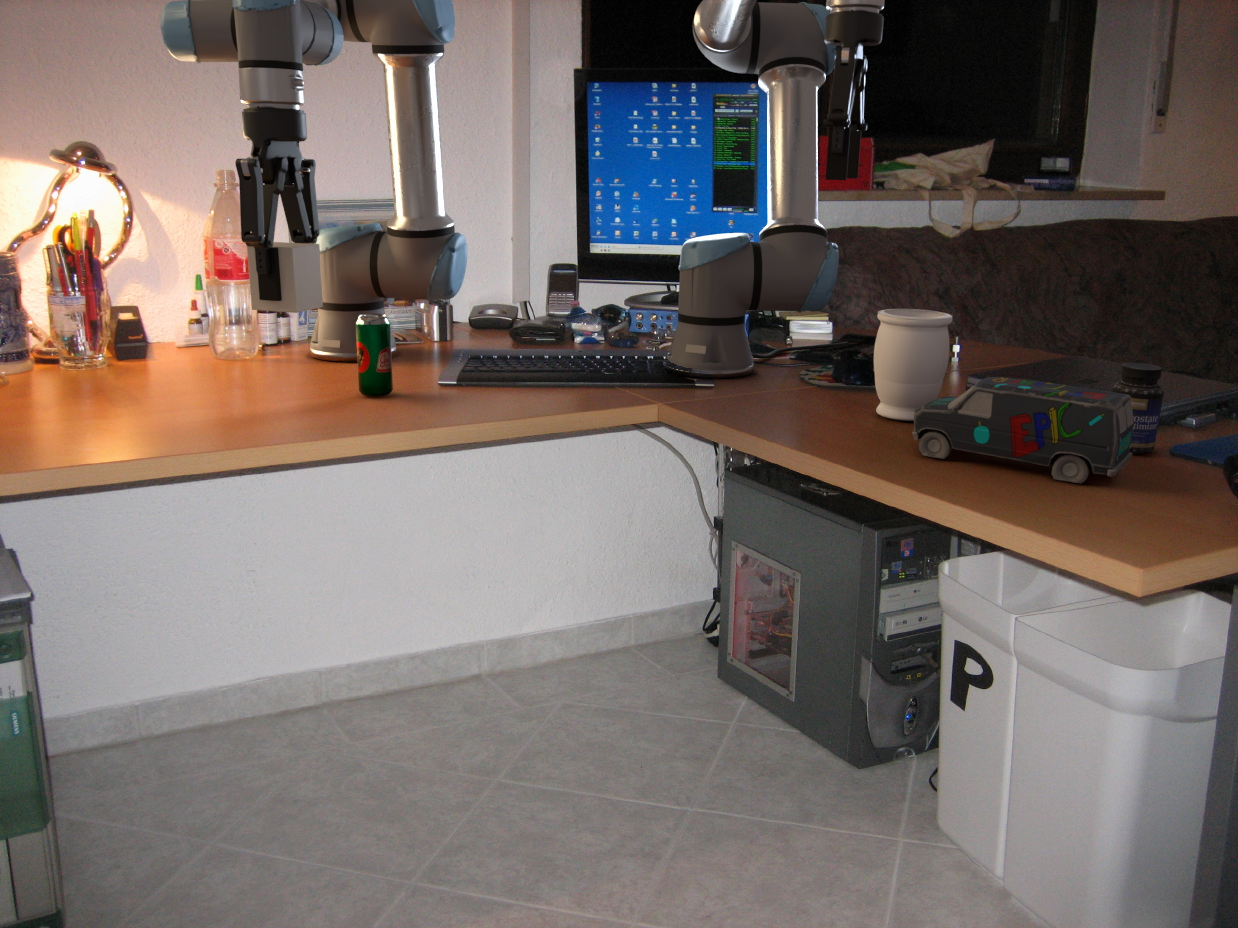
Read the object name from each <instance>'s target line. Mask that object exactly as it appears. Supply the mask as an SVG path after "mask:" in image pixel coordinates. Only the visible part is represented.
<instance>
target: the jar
mask: <svg viewBox="0 0 1238 928" xmlns="http://www.w3.org/2000/svg"><path fill="white" fill-rule="evenodd" d="M877 319H878V321H880V325H879V327H878V329H877V334H876V337H875V342H874V347H873V372H874V384H875V385H874V386H875V391H876V395H877V398H878V399H879V401H880V402H879V404H877V405H878V406H877V407H876V409H875V412H876V413H877V415H879V416H881V417H884V418H887V419H889V420H890V419H891V420H896V421H903V422H914V414H915V410H916V409H918V408H919V407H921V406H923V405H924V404H926V403H929V402H931V401H934V400H936V399H939V396H940V393H941V391H942V388H943V384H944V378H945V377H946V376H945V375H946V373H947V369H948V364H949V360H950V359H949V357H950V334H949V327H948V326H949V325H951V324H952V323H953V315H952V314H950V313H947V312H943V311H936V310H929V309H918V308H888V309H880V310H878V311H877Z"/></svg>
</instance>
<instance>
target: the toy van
mask: <svg viewBox="0 0 1238 928" xmlns="http://www.w3.org/2000/svg"><path fill="white" fill-rule="evenodd" d="M1134 427H1135V426H1134V418H1133V410H1132V401H1131V396H1129V395H1127V394H1121V393H1115V392H1112V391H1108V390H1103V389H1102V390H1100V389H1094V388H1089V387H1081V386H1076V385H1068V384H1061V383H1054V382H1047V381H1042V380H1041V381H1040V380H1032V379H1026V378H1025V379H1024V378H1016V377H1015V378H1014V377H1003V376H989V377H985V378H982V379H981V380H979V381H977V382H976V383H975V384H974V385H972V386H971V387H970V388H969V389H967V390H966V391H964V392H963V393H962V394H960V395H959V396H950V395H946V396H942V397H939V398H937V399H936V400H934V401H931V402H929V403H926V404H924V405H923V406H921V407H919V408H918V409H916V410H915V414H914V421H913V431H912V432H911V435H912V438H913V440H914V441H918V449H919V450H918V451H919V452H920V453H921V455H922V456H925V457H931V458H937V459H942V460H945V459H947V458H948V457H949V456H950V455H951V452H952V449H953V450H958V451H963V452H969V453H974V454H979V455H984V456H990V457H991V456H992V457H997V458H1002V459H1008V460H1013V461H1017V462H1018V461H1019V462H1024V463H1028V464H1034V465H1039V466H1043V467H1044V466H1045V467H1051V466H1052V467H1051V476H1052V479H1053V480H1058V481H1062V482H1068V483H1074V484H1083V483H1084V482H1086V481H1087V480H1088V479H1089V475H1090V473H1091V472H1092V474H1095V475H1105V476H1107V477H1115V475H1116V474H1118V473H1119V472H1120V471H1121V470H1122V469H1123V468H1125V466H1126V464H1127V463H1129V462H1130V460H1131V458H1132V456H1133V455H1134V453H1131V452H1129V451H1130V448H1131V441H1132V436H1133V430H1134ZM1090 471H1091V472H1090Z"/></svg>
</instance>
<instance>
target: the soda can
mask: <svg viewBox="0 0 1238 928" xmlns="http://www.w3.org/2000/svg"><path fill="white" fill-rule="evenodd" d="M385 314H386V313H385ZM385 314H362V315H358V320H357V322H356V341H357V361H356V362H357V377H358V379H357V380H358V391H359V393H360V394H361V395H363V396H365V397H372V398H376V397H377V398H378V397H385V396H388V395H390V394H392V392H393V391H394V383H393V382H394V381H393V362H392V361H393V359H392V357H393V356H391V332H390V328H391V322H390V320H389V318H388V315H387V314H386V315H385Z"/></svg>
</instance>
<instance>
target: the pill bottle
mask: <svg viewBox="0 0 1238 928" xmlns="http://www.w3.org/2000/svg"><path fill="white" fill-rule="evenodd" d="M1162 371H1163V367H1161V366H1158V365H1155V364H1149V363H1142V362H1141V363H1140V362H1126V363H1122V365H1121V369H1120V375H1121V380H1119V381H1116V382H1115V383H1114V384H1113V385H1112V388H1111V392H1115V393H1121V394H1127V395H1129V396H1131V401H1132V410H1133V418H1134V426H1135V427H1134V430H1133V436H1132V441H1131V448H1130V451H1129V452H1131V453H1133V454H1140V455H1141V454H1148V453H1151V452H1153V451H1154V450H1155V448H1156V440H1157V435H1158V428H1159V424H1160V419H1161V418H1160V417H1161V412H1162V407H1163V399H1164V395H1165V391H1164V389H1163V387H1162V386H1161V385H1159V383H1158V381H1159V380H1160V379H1161V377H1162Z"/></svg>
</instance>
